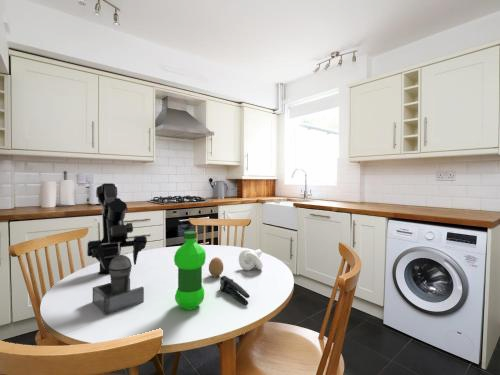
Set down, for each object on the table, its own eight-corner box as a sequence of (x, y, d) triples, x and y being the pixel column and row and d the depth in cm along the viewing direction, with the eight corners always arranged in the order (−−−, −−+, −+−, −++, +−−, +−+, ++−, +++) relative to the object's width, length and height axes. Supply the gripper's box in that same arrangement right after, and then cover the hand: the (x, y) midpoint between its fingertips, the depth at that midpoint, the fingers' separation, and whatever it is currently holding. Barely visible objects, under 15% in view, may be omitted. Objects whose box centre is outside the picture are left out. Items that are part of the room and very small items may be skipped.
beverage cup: (114, 307, 85) (114, 246, 85) (104, 300, 90) (104, 243, 89) (135, 299, 91) (136, 242, 91) (125, 293, 95) (125, 239, 95)
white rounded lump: (246, 262, 134) (246, 245, 133) (268, 266, 128) (268, 248, 128) (236, 269, 124) (236, 250, 123) (259, 274, 118) (259, 254, 118)
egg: (224, 273, 118) (224, 255, 118) (222, 279, 112) (222, 260, 111) (210, 273, 118) (210, 255, 118) (207, 278, 112) (207, 259, 112)
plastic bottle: (199, 315, 82) (200, 236, 81) (168, 311, 84) (168, 234, 83) (209, 300, 92) (210, 230, 91) (181, 297, 93) (182, 228, 93)
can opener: (215, 289, 102) (215, 275, 102) (231, 285, 106) (231, 271, 105) (238, 308, 87) (238, 292, 87) (255, 303, 91) (255, 287, 91)
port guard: (128, 290, 98) (128, 277, 98) (143, 301, 90) (143, 287, 90) (92, 301, 89) (92, 287, 89) (105, 314, 81) (105, 299, 81)
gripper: (87, 217, 87) (89, 258, 78) (145, 214, 98) (153, 250, 89) (86, 236, 94) (88, 276, 85) (141, 231, 105) (147, 266, 96)
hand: (120, 266), depth 89 cm, fingers open, 9 cm apart
